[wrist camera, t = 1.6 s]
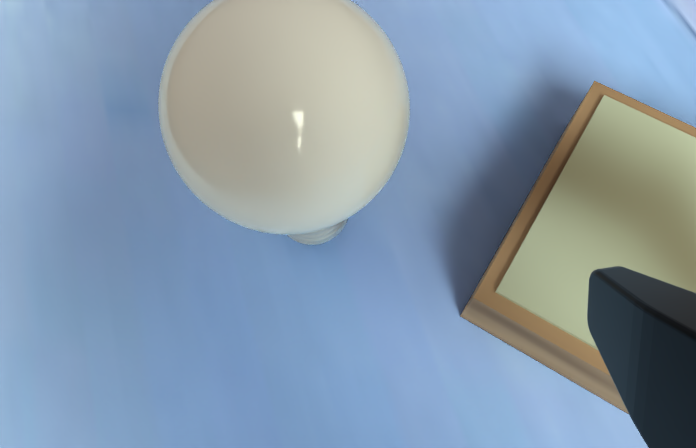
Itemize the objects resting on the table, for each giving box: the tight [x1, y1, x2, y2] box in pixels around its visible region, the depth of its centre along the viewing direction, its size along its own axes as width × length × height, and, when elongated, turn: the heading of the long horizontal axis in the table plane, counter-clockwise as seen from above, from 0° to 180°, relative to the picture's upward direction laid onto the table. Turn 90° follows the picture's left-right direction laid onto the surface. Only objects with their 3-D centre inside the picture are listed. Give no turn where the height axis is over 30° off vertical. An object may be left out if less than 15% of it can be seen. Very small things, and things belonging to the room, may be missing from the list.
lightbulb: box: [158, 0, 410, 245], centre depth 18 cm, size 6×6×11 cm
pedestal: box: [460, 81, 696, 414], centre depth 20 cm, size 9×9×3 cm
